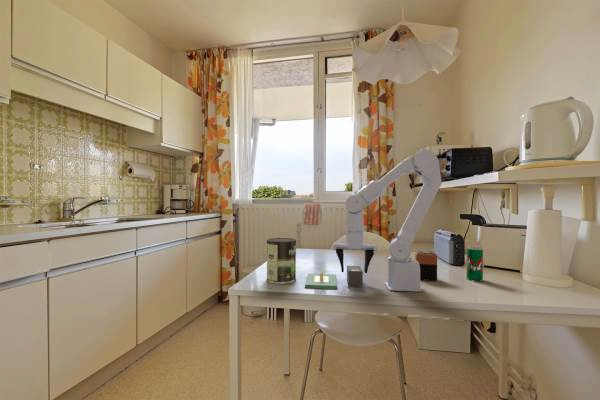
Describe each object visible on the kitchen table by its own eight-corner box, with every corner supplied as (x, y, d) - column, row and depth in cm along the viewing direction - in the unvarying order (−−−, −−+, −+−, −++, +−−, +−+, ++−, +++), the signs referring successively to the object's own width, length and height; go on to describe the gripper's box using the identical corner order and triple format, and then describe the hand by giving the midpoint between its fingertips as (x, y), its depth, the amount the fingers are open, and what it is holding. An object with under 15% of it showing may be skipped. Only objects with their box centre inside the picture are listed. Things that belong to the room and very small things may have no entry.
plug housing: (360, 280, 100) (360, 265, 100) (362, 287, 92) (362, 271, 92) (346, 279, 100) (346, 265, 100) (348, 286, 92) (348, 270, 92)
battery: (437, 281, 99) (437, 252, 99) (416, 279, 101) (416, 251, 101) (435, 278, 104) (435, 250, 104) (414, 276, 105) (415, 249, 105)
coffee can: (299, 277, 103) (299, 238, 103) (291, 285, 93) (291, 242, 93) (272, 275, 106) (272, 237, 106) (261, 282, 96) (261, 240, 96)
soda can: (482, 278, 103) (482, 245, 103) (484, 282, 98) (484, 247, 98) (465, 277, 105) (466, 244, 105) (467, 280, 100) (467, 246, 101)
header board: (335, 277, 104) (335, 267, 104) (336, 289, 90) (336, 277, 90) (308, 276, 105) (308, 266, 105) (305, 287, 91) (305, 276, 91)
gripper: (374, 230, 99) (374, 269, 99) (332, 229, 101) (332, 268, 101) (378, 232, 92) (377, 275, 92) (333, 231, 94) (332, 273, 94)
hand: (354, 271), depth 96 cm, fingers open, 7 cm apart
